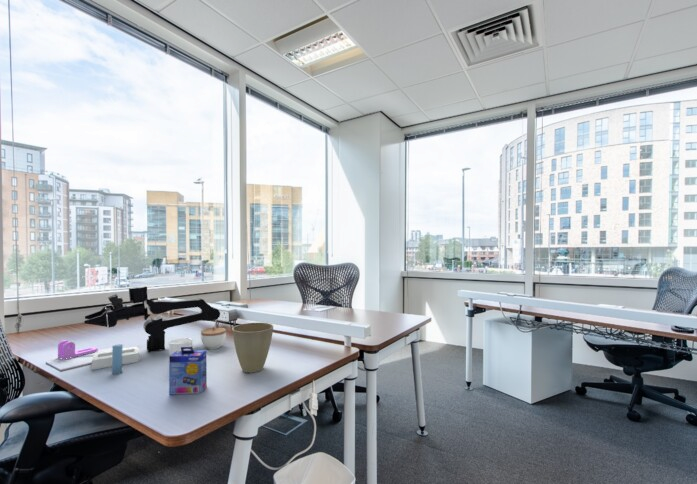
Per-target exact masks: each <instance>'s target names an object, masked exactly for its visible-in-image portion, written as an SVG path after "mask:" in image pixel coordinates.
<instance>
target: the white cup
mask: <svg viewBox="0 0 697 484" xmlns="http://www.w3.org/2000/svg"><path fill="white" fill-rule="evenodd" d="M168 345H169V356H170V355H172V354H173V353H174V352H176V351H181V347H192V348H193V339H192V338H190V337H189V338H188V337H183V338H176V339H175V338H174V339H173V340H170V341H168ZM183 350H191V349H183Z"/></svg>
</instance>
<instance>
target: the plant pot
mask: <svg viewBox="0 0 697 484" xmlns="http://www.w3.org/2000/svg"><path fill="white" fill-rule="evenodd" d="M231 330H232V337H233V338H232V339H233V343H234V348H235V352H236V355H237V359H238V362H239V365H240V367H241V370H242V372H243V371H244V372H243V373H245V372H249V373H248V374H253V373H252V372H255V373H258V372H257V371H259V372H261V371H263V370H264V367H265V364H266V361H267V358H268V354H269V351H270V347H271V344H272V343H271V342H272V339H273V331H274V324H272V323H267V322H248V323H247V322H245V323H241V324H238V325H235V326H233V327H232V328H231ZM260 370H261V371H260Z"/></svg>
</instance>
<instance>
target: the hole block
mask: <svg viewBox="0 0 697 484" xmlns="http://www.w3.org/2000/svg"><path fill="white" fill-rule="evenodd" d="M139 347H140V346H139V345H138V346H132V347H131V346H130V347H124V348H122V366H123V365H128V364H134V363H138V362H140V348H139ZM110 367H112V349H111V350H105V351H97V352H94V353H93V356H92V359H91V371H92V370H99V369H104V368H110Z"/></svg>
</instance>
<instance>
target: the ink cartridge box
mask: <svg viewBox="0 0 697 484" xmlns="http://www.w3.org/2000/svg"><path fill="white" fill-rule="evenodd" d="M183 349H191V350H183ZM168 357H169V358H168V363H169V364H168V368H169V369H168V370H169V371H168V372H169V373H168V375H169V376H168V382H169V383H168V395H199V394H202V393H203V391H204V390H206V388H207V386H208V385H207V382H208V381H207V377H208V376H207V374H208V373H207V370H208V369H207V367H208V366H207V349H205V350H204V349H203V350H202V349H201V350H199V349H198V350H194V348H193V346H192V347H181V351H176V352H174V353H173V354H172V355H170V354H169V356H168Z"/></svg>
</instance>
